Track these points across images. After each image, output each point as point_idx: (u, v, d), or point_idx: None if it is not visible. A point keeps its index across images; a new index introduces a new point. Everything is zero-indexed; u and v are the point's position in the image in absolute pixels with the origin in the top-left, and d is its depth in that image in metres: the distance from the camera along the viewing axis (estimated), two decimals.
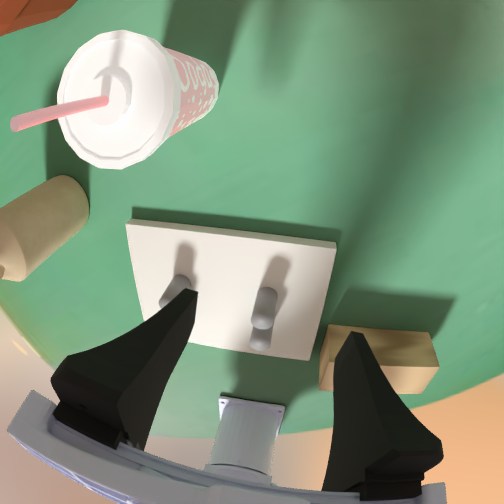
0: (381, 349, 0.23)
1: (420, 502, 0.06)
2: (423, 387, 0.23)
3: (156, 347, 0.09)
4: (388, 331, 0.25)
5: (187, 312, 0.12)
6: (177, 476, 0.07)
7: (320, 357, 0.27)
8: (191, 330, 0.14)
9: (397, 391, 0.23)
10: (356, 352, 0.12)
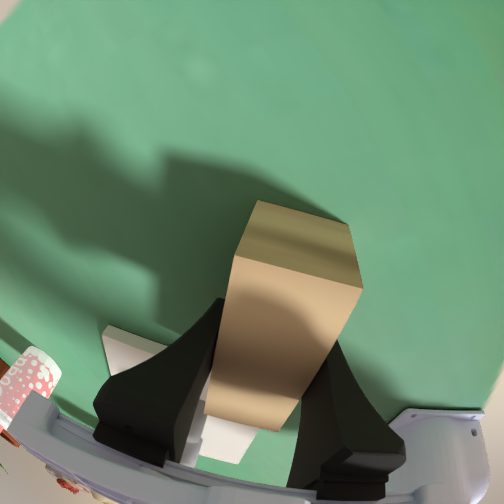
0: None
1: (420, 502, 0.06)
2: (328, 287, 0.09)
3: (200, 361, 0.09)
4: None
5: None
6: (177, 476, 0.07)
7: None
8: None
9: (321, 344, 0.10)
10: None
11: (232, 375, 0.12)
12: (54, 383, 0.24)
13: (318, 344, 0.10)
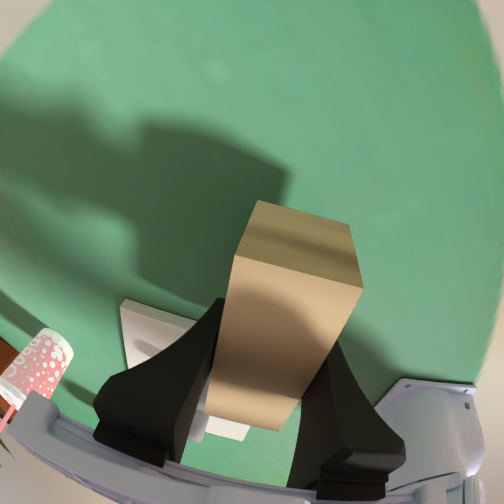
0: None
1: (420, 502, 0.06)
2: (328, 287, 0.09)
3: (200, 361, 0.09)
4: None
5: None
6: (177, 476, 0.07)
7: None
8: None
9: (322, 344, 0.10)
10: None
11: (233, 375, 0.12)
12: (66, 363, 0.26)
13: (318, 344, 0.10)
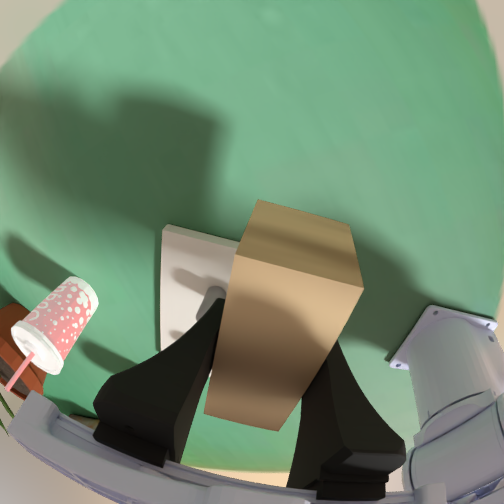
0: None
1: (420, 502, 0.06)
2: (329, 286, 0.09)
3: (200, 361, 0.09)
4: None
5: None
6: (177, 476, 0.07)
7: None
8: None
9: (322, 344, 0.10)
10: None
11: (232, 375, 0.12)
12: (91, 312, 0.28)
13: (319, 343, 0.10)
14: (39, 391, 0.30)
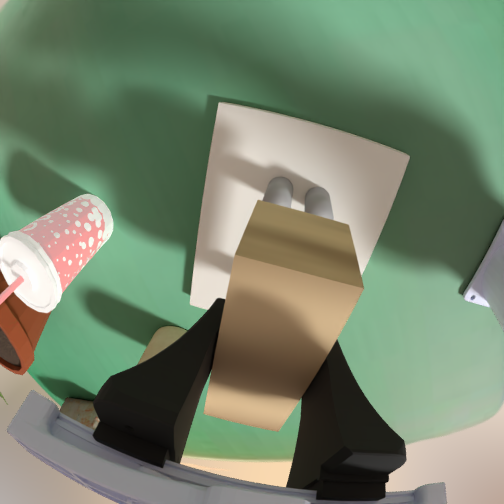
0: None
1: (420, 502, 0.06)
2: (329, 286, 0.09)
3: (201, 361, 0.09)
4: None
5: None
6: (177, 476, 0.07)
7: None
8: None
9: (322, 344, 0.10)
10: None
11: (232, 375, 0.12)
12: (104, 236, 0.23)
13: (318, 344, 0.10)
14: (29, 355, 0.25)
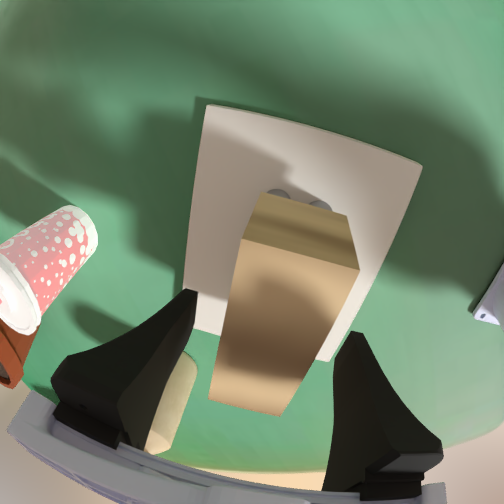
0: None
1: (420, 502, 0.06)
2: (328, 268, 0.10)
3: (156, 347, 0.09)
4: None
5: (187, 312, 0.12)
6: (177, 476, 0.07)
7: None
8: (191, 330, 0.14)
9: (322, 325, 0.11)
10: (356, 353, 0.12)
11: (237, 357, 0.13)
12: (87, 251, 0.21)
13: (319, 325, 0.11)
14: (17, 370, 0.23)
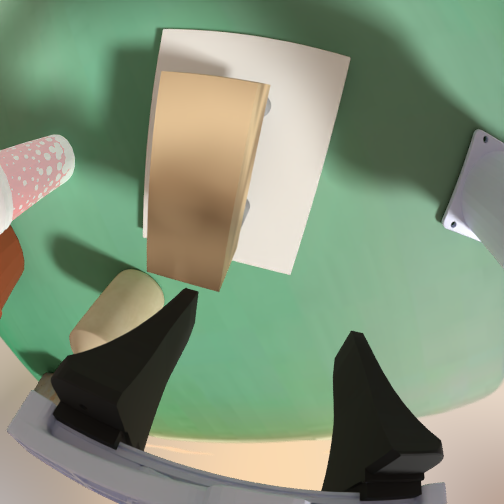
0: None
1: (420, 502, 0.06)
2: (229, 84, 0.10)
3: (156, 347, 0.09)
4: None
5: (187, 312, 0.12)
6: (177, 476, 0.07)
7: None
8: (191, 330, 0.14)
9: (235, 146, 0.12)
10: (356, 353, 0.12)
11: (165, 200, 0.13)
12: (64, 170, 0.21)
13: (232, 146, 0.12)
14: None
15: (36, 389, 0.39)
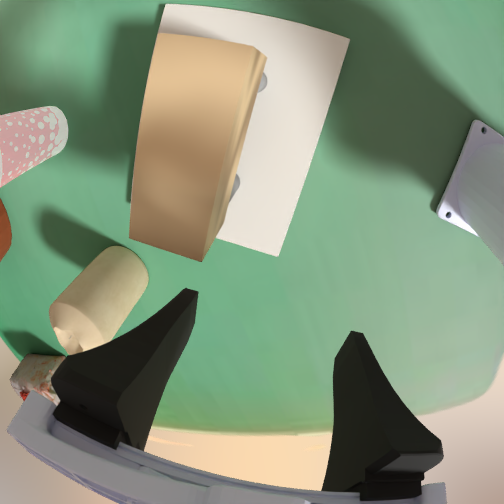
0: None
1: (420, 502, 0.06)
2: (224, 47, 0.10)
3: (156, 347, 0.09)
4: None
5: (187, 312, 0.12)
6: (177, 476, 0.07)
7: None
8: (191, 330, 0.14)
9: (226, 107, 0.11)
10: (356, 353, 0.12)
11: (152, 162, 0.13)
12: (56, 141, 0.20)
13: (223, 107, 0.11)
14: None
15: (17, 370, 0.37)
